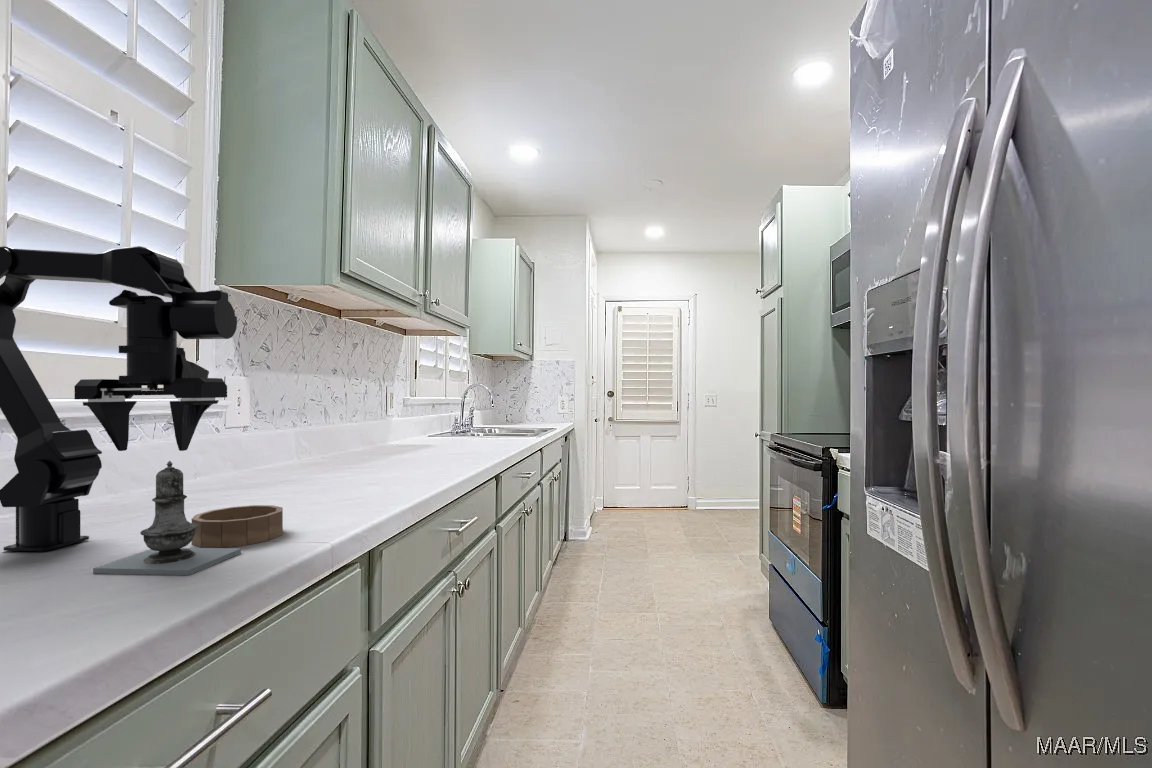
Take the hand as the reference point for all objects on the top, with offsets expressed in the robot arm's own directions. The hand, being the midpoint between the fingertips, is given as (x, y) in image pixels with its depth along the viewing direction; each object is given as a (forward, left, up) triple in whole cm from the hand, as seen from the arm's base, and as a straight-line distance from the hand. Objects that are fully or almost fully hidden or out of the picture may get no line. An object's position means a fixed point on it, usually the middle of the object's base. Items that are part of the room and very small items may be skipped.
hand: (152, 450), depth 81 cm
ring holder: (+10, +4, -13) cm, 17 cm away
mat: (+10, -8, -13) cm, 18 cm away
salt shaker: (+10, -8, -13) cm, 18 cm away
